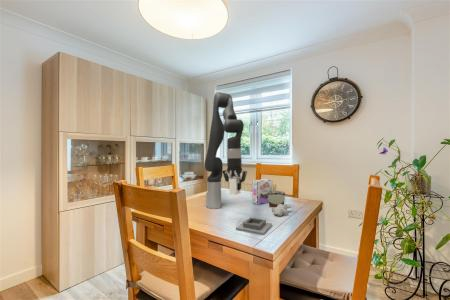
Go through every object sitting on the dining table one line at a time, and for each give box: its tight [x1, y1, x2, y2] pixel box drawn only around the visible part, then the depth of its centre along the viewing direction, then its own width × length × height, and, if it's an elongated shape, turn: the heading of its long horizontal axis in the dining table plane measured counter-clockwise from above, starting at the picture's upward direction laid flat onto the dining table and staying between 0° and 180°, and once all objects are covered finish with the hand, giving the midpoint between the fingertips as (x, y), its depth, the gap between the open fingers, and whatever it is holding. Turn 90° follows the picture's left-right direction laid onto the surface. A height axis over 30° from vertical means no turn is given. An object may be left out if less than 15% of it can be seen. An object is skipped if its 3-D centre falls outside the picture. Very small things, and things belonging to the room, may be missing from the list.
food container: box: [267, 190, 287, 209], centre depth 145 cm, size 12×6×10 cm, turn 84°
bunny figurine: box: [271, 204, 292, 217], centre depth 130 cm, size 10×5×15 cm
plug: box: [228, 177, 241, 196], centre depth 115 cm, size 4×5×8 cm
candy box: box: [252, 178, 273, 206], centre depth 155 cm, size 14×6×16 cm, turn 117°
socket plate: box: [235, 217, 273, 236], centre depth 108 cm, size 14×14×3 cm
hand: (234, 189), depth 115 cm, fingers closed on plug, 4 cm apart
